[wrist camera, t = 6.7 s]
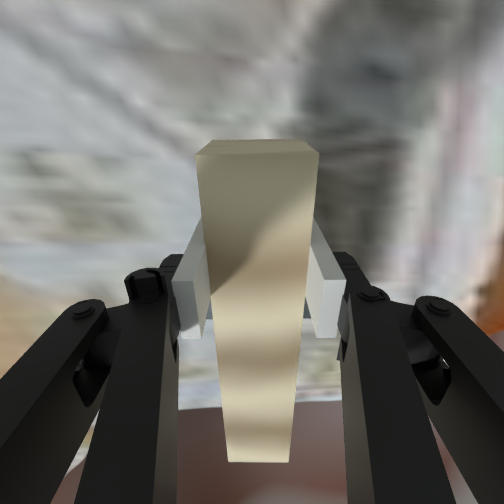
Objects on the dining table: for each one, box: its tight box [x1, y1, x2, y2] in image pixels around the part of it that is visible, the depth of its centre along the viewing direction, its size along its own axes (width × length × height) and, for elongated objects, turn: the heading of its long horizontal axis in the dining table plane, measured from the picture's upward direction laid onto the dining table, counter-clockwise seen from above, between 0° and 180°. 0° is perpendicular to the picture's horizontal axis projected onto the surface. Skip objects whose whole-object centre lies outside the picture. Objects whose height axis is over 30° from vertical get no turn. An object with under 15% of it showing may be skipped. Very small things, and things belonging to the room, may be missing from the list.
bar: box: [195, 139, 320, 462], centre depth 17 cm, size 22×4×4 cm, turn 1°
